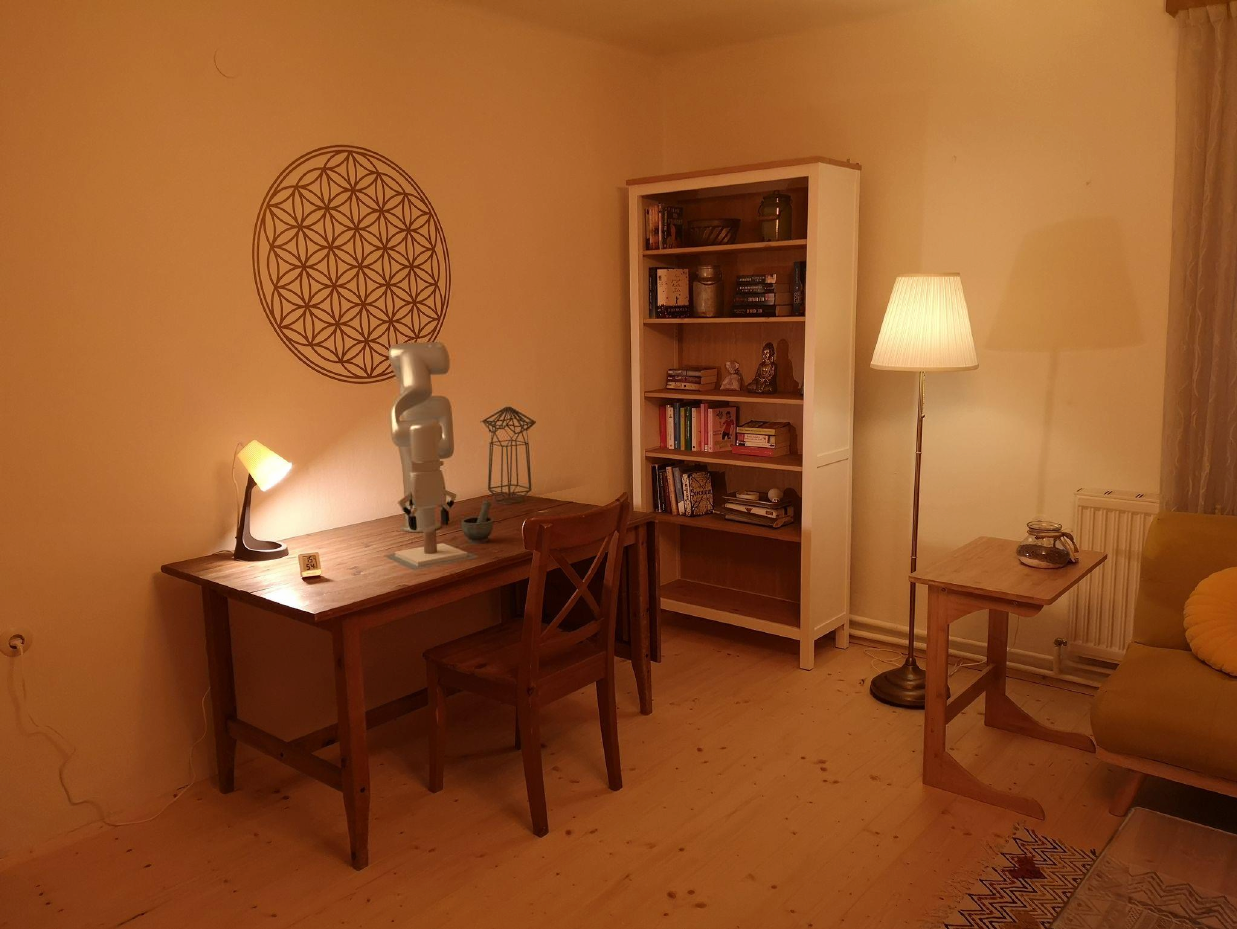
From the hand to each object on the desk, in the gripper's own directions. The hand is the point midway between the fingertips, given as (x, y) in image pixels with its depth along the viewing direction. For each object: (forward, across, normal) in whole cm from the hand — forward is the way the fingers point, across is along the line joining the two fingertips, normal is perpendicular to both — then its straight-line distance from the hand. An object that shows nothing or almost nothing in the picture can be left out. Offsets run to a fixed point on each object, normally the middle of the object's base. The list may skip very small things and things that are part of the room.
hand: (429, 527), depth 269 cm
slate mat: (+9, 0, -1) cm, 9 cm away
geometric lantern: (+8, -59, -56) cm, 82 cm away
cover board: (+9, 0, -1) cm, 9 cm away
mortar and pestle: (+9, -20, -9) cm, 24 cm away
